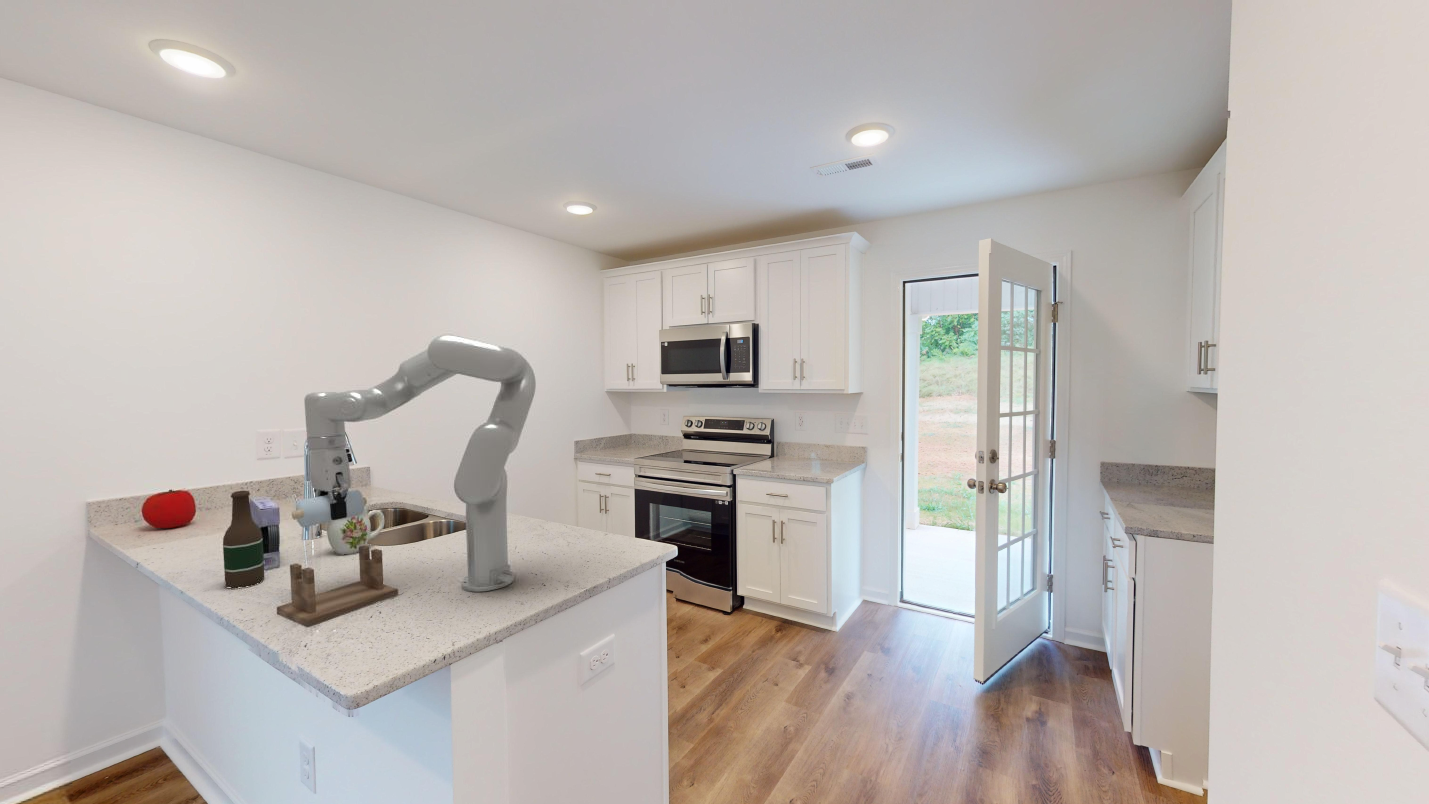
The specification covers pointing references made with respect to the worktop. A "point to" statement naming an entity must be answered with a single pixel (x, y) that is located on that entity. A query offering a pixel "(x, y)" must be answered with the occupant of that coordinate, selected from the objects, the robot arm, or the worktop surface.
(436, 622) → the worktop surface
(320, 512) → the kitchen roll
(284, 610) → the roll holder
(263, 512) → the cake pan box
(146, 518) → the tomato
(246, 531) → the beer bottle
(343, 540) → the pitcher
